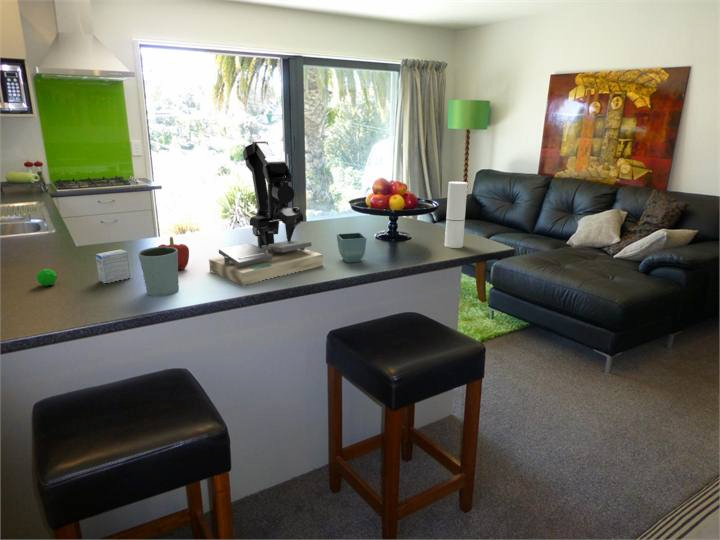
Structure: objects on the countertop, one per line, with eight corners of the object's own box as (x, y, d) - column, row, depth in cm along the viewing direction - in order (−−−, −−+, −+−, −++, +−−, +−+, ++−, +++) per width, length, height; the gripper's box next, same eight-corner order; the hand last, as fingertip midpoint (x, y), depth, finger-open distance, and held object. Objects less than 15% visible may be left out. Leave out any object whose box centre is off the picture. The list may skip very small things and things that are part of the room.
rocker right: (262, 249, 166) (261, 245, 165) (290, 244, 174) (290, 239, 173) (282, 252, 157) (282, 247, 157) (311, 246, 165) (311, 241, 165)
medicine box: (124, 275, 153) (121, 249, 150) (131, 278, 150) (128, 251, 147) (98, 281, 147) (94, 253, 144) (105, 284, 144) (101, 256, 141)
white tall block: (461, 243, 197) (466, 181, 190) (463, 248, 190) (468, 183, 183) (443, 243, 198) (447, 181, 190) (445, 247, 191) (449, 183, 183)
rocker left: (218, 253, 154) (218, 248, 154) (251, 246, 162) (251, 242, 162) (239, 266, 147) (239, 262, 146) (272, 259, 155) (272, 254, 154)
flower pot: (342, 264, 166) (342, 239, 164) (336, 258, 175) (336, 233, 172) (366, 263, 169) (367, 238, 166) (359, 256, 177) (360, 232, 174)
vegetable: (157, 266, 163) (154, 237, 160) (190, 263, 166) (187, 234, 163) (156, 275, 153) (153, 244, 150) (191, 272, 157) (188, 242, 154)
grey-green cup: (186, 285, 144) (182, 246, 140) (174, 297, 134) (170, 255, 131) (151, 285, 143) (146, 246, 140) (137, 297, 134) (132, 255, 130)
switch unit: (210, 271, 158) (208, 251, 156) (287, 254, 179) (286, 236, 177) (243, 285, 144) (241, 264, 142) (322, 265, 165) (322, 246, 163)
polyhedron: (36, 285, 143) (33, 269, 142) (55, 281, 146) (53, 266, 145) (40, 289, 140) (37, 273, 138) (60, 285, 143) (57, 270, 142)
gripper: (267, 204, 152) (269, 252, 157) (313, 198, 165) (313, 243, 169) (247, 200, 160) (250, 246, 164) (293, 194, 172) (294, 237, 177)
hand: (278, 243), depth 169 cm, fingers open, 9 cm apart
